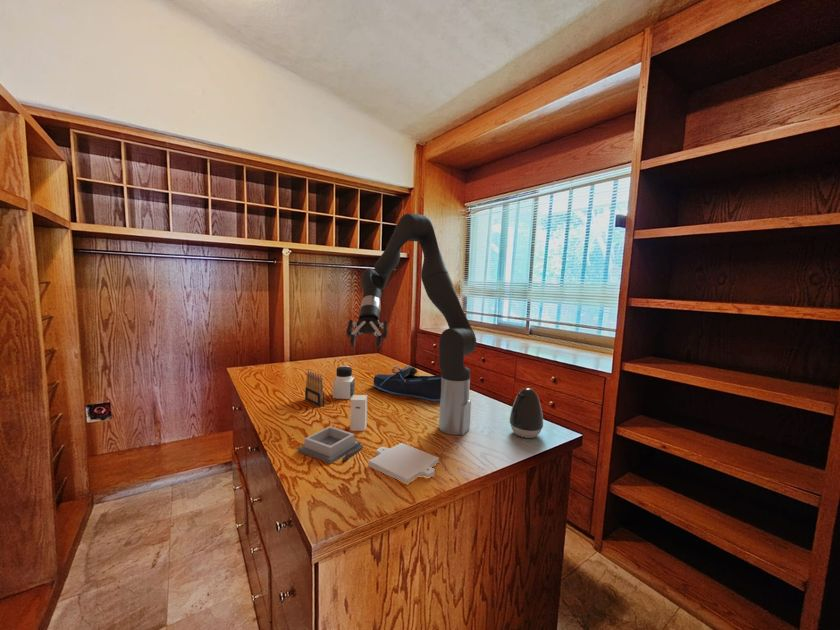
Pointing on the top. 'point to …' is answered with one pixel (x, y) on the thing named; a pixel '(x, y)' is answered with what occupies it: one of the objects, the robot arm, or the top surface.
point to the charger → (358, 413)
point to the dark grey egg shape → (526, 414)
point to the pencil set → (314, 389)
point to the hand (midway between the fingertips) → (365, 346)
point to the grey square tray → (329, 444)
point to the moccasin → (410, 384)
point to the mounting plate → (403, 462)
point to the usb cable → (352, 452)
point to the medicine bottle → (343, 383)
